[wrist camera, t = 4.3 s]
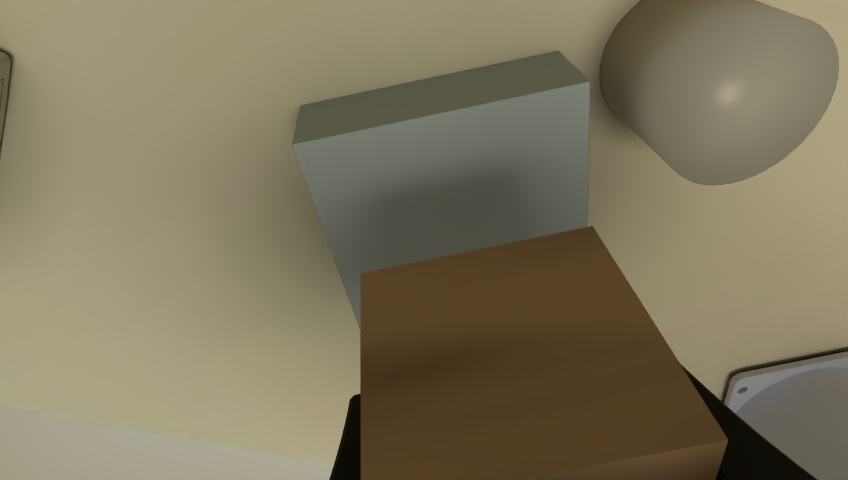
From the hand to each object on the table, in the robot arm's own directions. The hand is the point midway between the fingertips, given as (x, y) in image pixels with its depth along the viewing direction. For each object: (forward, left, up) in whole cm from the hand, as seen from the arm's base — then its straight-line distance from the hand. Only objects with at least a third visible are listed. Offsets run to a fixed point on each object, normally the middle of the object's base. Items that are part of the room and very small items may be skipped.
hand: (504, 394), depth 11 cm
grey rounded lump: (+3, -8, -9) cm, 12 cm away
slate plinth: (0, 0, -9) cm, 9 cm away
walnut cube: (0, 0, -2) cm, 2 cm away
